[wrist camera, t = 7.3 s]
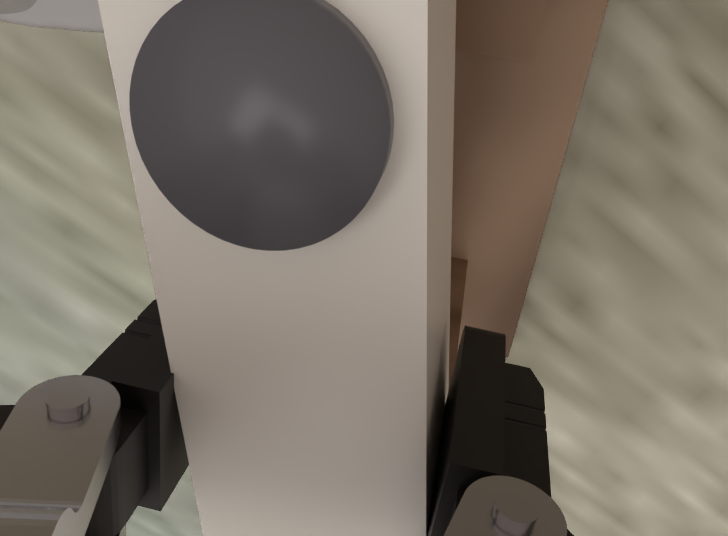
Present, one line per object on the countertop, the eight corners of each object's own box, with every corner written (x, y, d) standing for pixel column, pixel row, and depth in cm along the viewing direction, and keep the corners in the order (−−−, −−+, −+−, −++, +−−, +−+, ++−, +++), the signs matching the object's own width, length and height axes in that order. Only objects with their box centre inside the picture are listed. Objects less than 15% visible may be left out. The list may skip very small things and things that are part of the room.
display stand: (284, 294, 30) (198, 434, 22) (324, -148, 22) (215, -198, 14) (507, 342, 29) (508, 508, 21) (631, -105, 21) (715, -130, 13)
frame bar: (218, -153, 10) (32, -206, 6) (459, -170, 9) (422, -241, 5) (303, 595, 17) (242, 792, 13) (444, 616, 16) (422, 829, 12)
